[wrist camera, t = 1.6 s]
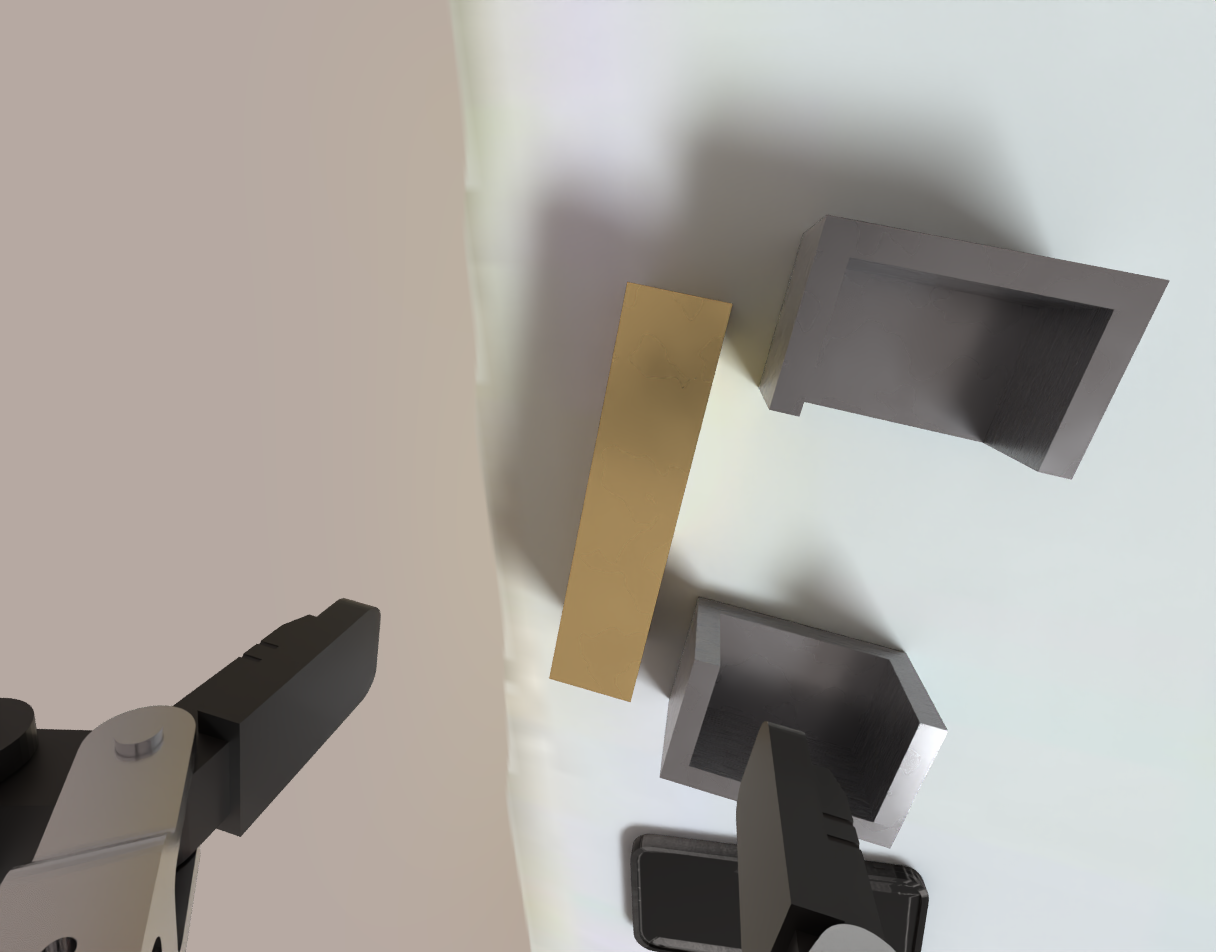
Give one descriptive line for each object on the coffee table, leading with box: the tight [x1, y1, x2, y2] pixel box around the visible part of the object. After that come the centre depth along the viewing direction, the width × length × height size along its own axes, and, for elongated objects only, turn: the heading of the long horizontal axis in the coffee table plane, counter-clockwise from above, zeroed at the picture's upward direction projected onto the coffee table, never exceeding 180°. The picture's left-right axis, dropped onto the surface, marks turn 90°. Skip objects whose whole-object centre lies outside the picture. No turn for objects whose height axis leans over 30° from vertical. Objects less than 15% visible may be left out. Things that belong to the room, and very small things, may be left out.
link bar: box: [549, 282, 732, 702], centre depth 24 cm, size 16×4×5 cm, turn 169°
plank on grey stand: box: [660, 215, 1170, 848], centre depth 22 cm, size 22×10×5 cm, turn 169°
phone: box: [631, 834, 929, 952], centre depth 31 cm, size 8×1×15 cm
